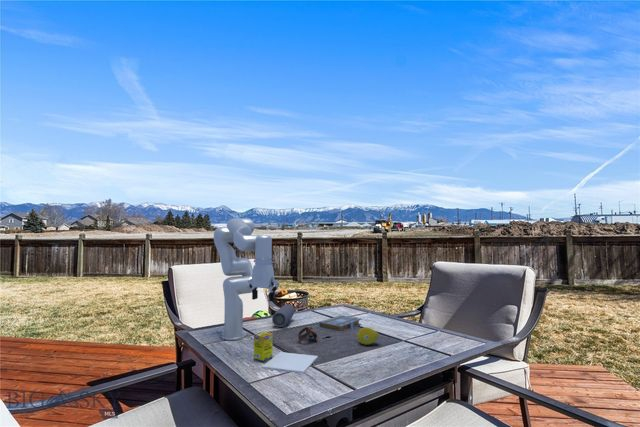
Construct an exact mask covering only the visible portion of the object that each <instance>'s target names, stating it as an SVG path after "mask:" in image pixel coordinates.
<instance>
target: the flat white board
mask: <svg viewBox="0 0 640 427" xmlns="http://www.w3.org/2000/svg"><path fill="white" fill-rule="evenodd" d="M318 357H319V356H318V355H313V354H304V353H303V354H301V353H292V352H285V351H279V352H277V354H276V355H274V357H273V356H272V359H270V360H268V361H266V362H265V364H263V365H262V366H261V369H266V370H267V369H268V370H274V371H275V370H276V371H284V372H293V373H299V374H300V373H301V374H304V373H305V372H306V371H307V370H308V369H309V368H310V366H311V365H312V364H313V363H314V362H315V361H316V360H317V359H318Z"/></svg>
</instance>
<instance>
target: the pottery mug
mask: <svg viewBox="0 0 640 427" xmlns="http://www.w3.org/2000/svg"><path fill="white" fill-rule="evenodd" d="M304 332H305V333H304ZM297 337H298V338H297V339H298V341H299V342H301V341H304V340H307V341H308V340H309V338H313V340H314V341H315V340H316V344H317V343H319V336H318V334H317V332H316V331H315V330H314V329H313V328H312V326H305V327H303V328H301V329H300V331H299V332H298V333H297Z"/></svg>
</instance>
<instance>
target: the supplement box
mask: <svg viewBox="0 0 640 427" xmlns="http://www.w3.org/2000/svg"><path fill="white" fill-rule="evenodd" d="M273 336H274V335H273V332H267V331H262V332H259V333H254V335H253V360H254V361H257V362H260V363H266V362H268V361H270V360H271V359H272V358H273V352H274V351H273V350H274V349H273V347H274V346H273V341H274V340H273V339H274V338H273Z"/></svg>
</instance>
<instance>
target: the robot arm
mask: <svg viewBox="0 0 640 427" xmlns="http://www.w3.org/2000/svg"><path fill="white" fill-rule="evenodd" d="M254 230H255V223H254V220H252V218H248V217H246V218H243V217H241V218H238V217H235V218H231V219H229V220H228V221H227V222H226V226H222V227H218V228H216V229H215V230H214V232H213V243H214V246H215V248H216V250H217V251H218V255H219V258H220V265H221V269H222V273H223V275H225V276H227V278H225V279H224V280H223V281H222V288H223V289H222V290H223V296H224V297H223V298H224V317H223V318H224V322H223V323H224V324H223V327H219V328H218V332H217V333H222V334H221V336H220V338H221V339H222V340H224V339H225V340H224V341H237V340H243V339H244V338H245V337H246V336H247V335H246V332H244V330H243V329H244V320H243V319H244V302H243V300H242V298H240V296H239V295H244V294H251V296H252V297H251V299H252V300H257V299H258V298H259V297H258V296H259V295H258V293H259V291H258V288H260V289H268V291H269V292H268V301H269V302H273V301H275V299H276V298H275V297H276V296H275V295H276V292H277V290H278V289H279V286H280V284H281V283H280V282H279V281H278V280H276V279H275V273H274V265H273V264H272V263H273V261H272V257H273V256H272V252H273V251H272V250H273V249H272V242H273V240H272V236H271V235H263V234H262V235H261V234H260V235H259V234H256V235H255V234H253V233H254ZM229 243H233V244H234V246H235V247H236V249H237V250H239V251H241V252H254V253H255V254H254V257H255V258H254V259H253V263H254V265H252V263H251V260H250V259H249V258H246V257H237V256H236V255H237V254H236V251H235V249H234V248H233V246H231V244H229Z"/></svg>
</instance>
